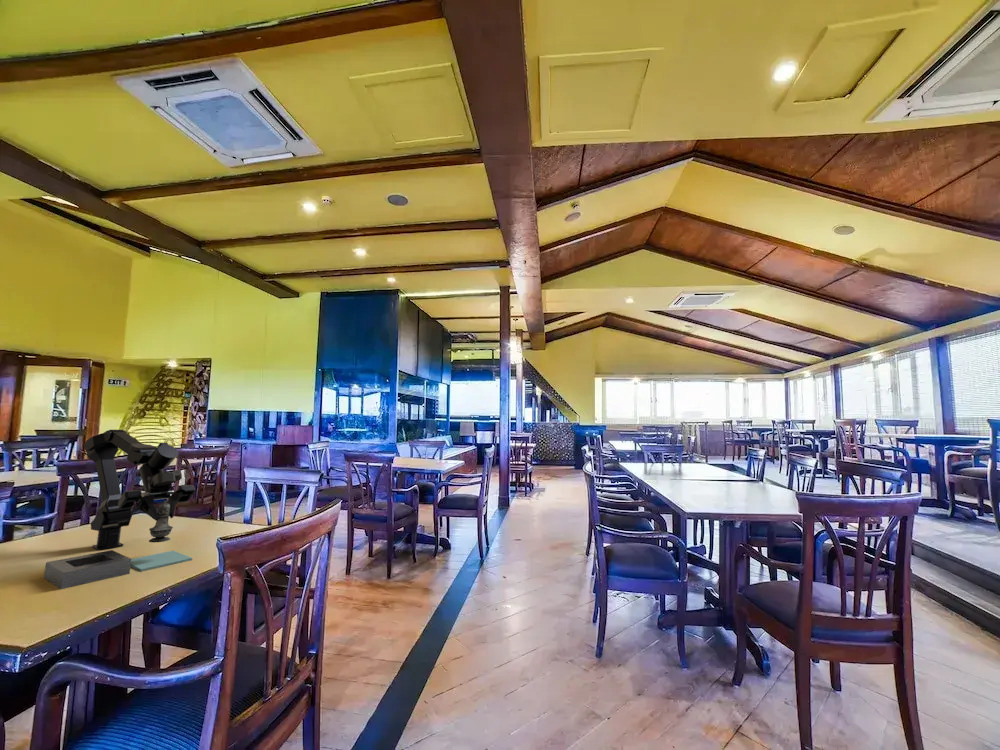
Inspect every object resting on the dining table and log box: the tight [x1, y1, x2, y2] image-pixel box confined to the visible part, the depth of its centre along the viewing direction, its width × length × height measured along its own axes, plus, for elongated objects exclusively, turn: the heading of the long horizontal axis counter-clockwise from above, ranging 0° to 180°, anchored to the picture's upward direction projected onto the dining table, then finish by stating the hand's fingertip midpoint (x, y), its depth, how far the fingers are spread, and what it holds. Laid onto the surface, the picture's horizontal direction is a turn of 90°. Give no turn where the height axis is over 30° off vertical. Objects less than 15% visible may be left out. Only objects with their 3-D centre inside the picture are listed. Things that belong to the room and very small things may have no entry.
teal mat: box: [130, 550, 193, 572], centre depth 132 cm, size 13×13×1 cm
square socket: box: [43, 549, 132, 590], centre depth 119 cm, size 14×14×4 cm
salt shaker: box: [148, 499, 174, 543], centre depth 133 cm, size 6×6×12 cm
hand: (164, 518), depth 132 cm, fingers closed on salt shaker, 4 cm apart
